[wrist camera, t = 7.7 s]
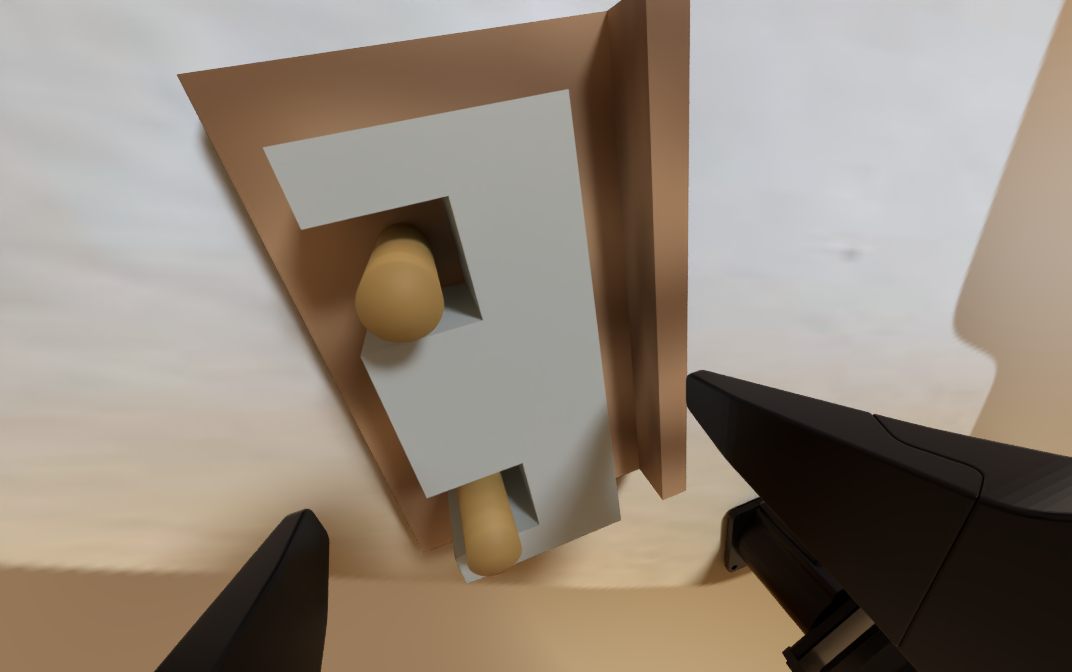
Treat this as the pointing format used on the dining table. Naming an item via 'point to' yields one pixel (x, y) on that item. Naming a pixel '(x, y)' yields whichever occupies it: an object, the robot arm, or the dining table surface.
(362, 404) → the board
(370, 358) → the grey notched panel
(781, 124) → the dining table surface
